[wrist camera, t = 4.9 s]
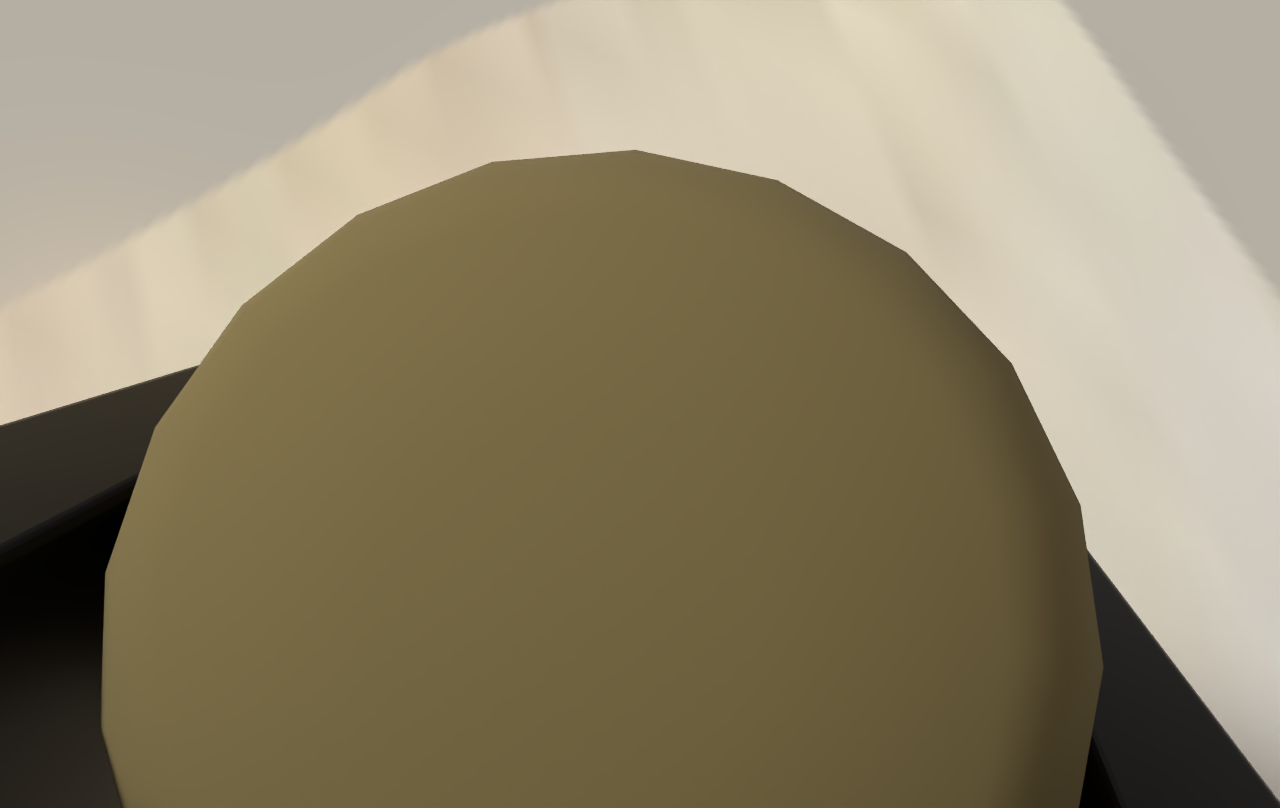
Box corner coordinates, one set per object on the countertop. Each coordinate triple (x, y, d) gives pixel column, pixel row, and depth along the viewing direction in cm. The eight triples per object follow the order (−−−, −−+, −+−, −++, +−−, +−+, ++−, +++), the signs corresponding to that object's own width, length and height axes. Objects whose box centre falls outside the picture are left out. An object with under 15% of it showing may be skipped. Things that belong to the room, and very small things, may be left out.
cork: (646, 334, 17) (521, -272, 6) (997, 626, 15) (1635, 540, 5) (345, 668, 16) (-425, 675, 5) (691, 1001, 15) (625, 1891, 4)
